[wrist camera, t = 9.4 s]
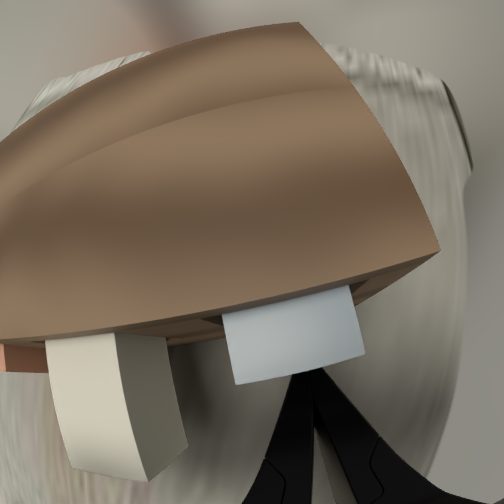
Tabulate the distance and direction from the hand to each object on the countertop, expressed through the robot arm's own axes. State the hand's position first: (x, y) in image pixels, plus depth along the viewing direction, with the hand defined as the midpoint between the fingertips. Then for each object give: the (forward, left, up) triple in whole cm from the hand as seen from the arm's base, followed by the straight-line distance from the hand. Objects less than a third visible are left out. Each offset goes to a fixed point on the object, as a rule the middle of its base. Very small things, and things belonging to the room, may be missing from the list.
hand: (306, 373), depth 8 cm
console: (+8, +7, -7) cm, 13 cm away
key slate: (+3, 0, -2) cm, 4 cm away
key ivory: (0, +7, -2) cm, 8 cm away
